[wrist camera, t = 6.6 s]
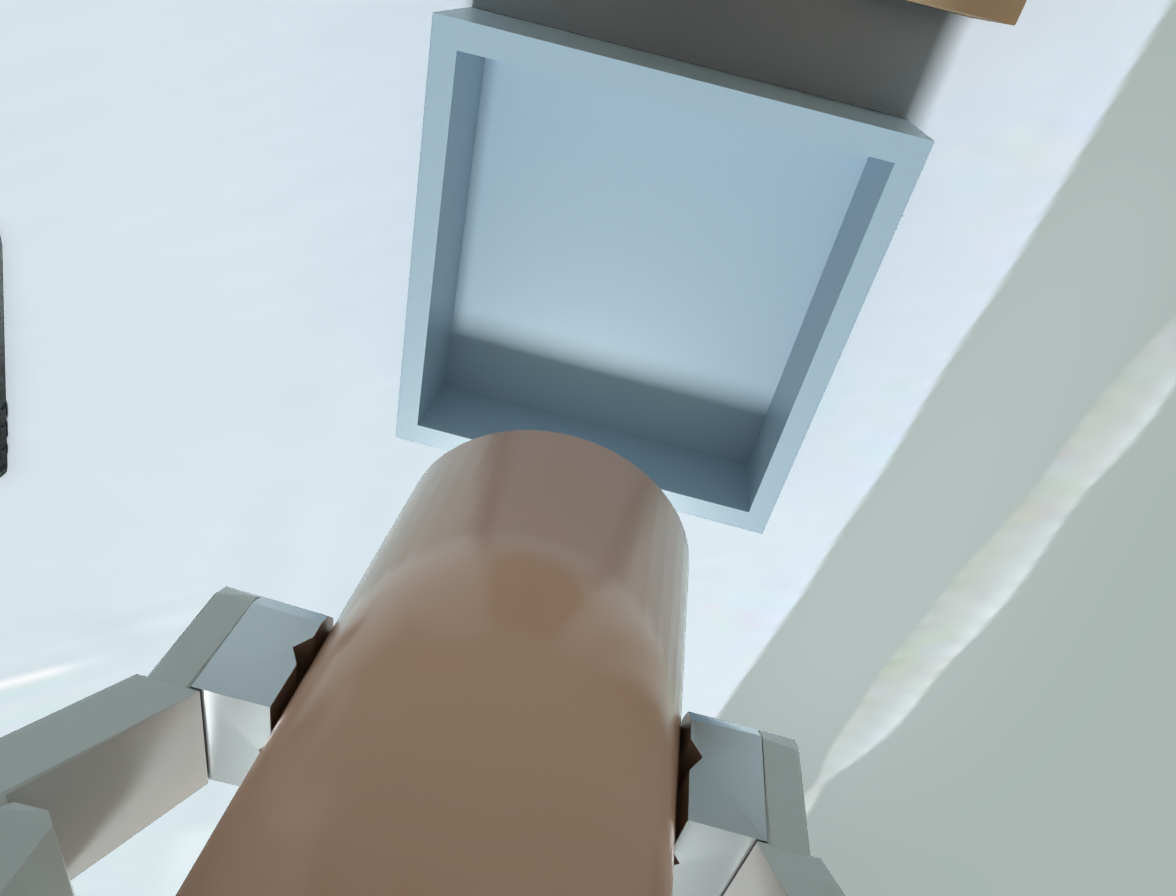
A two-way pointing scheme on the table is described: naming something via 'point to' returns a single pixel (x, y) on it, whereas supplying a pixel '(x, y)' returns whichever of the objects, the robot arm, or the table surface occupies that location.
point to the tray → (979, 8)
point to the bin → (638, 255)
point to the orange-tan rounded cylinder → (484, 697)
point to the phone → (2, 379)
